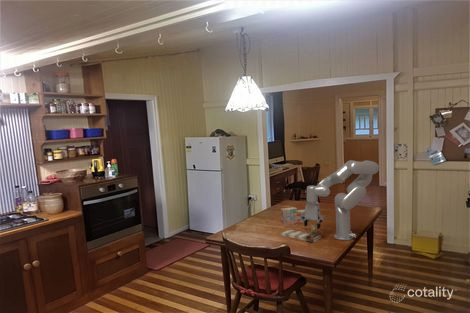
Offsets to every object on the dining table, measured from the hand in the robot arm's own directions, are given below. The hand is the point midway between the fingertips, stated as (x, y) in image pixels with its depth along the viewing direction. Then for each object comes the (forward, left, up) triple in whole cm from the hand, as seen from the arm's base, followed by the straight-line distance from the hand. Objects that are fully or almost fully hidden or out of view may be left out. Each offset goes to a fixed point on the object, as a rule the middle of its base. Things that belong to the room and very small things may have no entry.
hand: (312, 227), depth 233 cm
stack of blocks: (+31, -30, -9) cm, 44 cm away
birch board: (+9, -1, -9) cm, 13 cm away
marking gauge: (-1, -1, -9) cm, 9 cm away
